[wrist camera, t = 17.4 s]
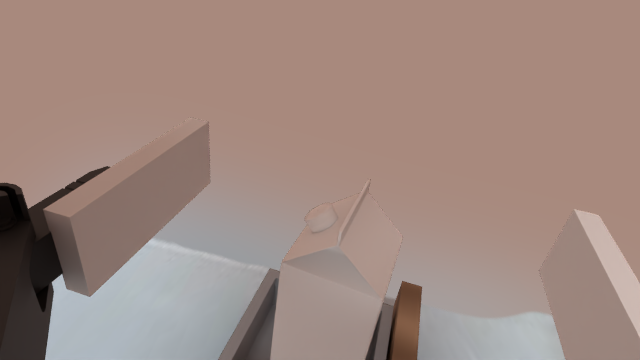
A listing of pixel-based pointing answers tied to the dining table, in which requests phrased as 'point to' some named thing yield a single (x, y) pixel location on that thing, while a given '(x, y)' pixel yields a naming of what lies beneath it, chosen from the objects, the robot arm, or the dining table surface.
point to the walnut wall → (405, 323)
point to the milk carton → (335, 281)
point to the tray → (258, 323)
